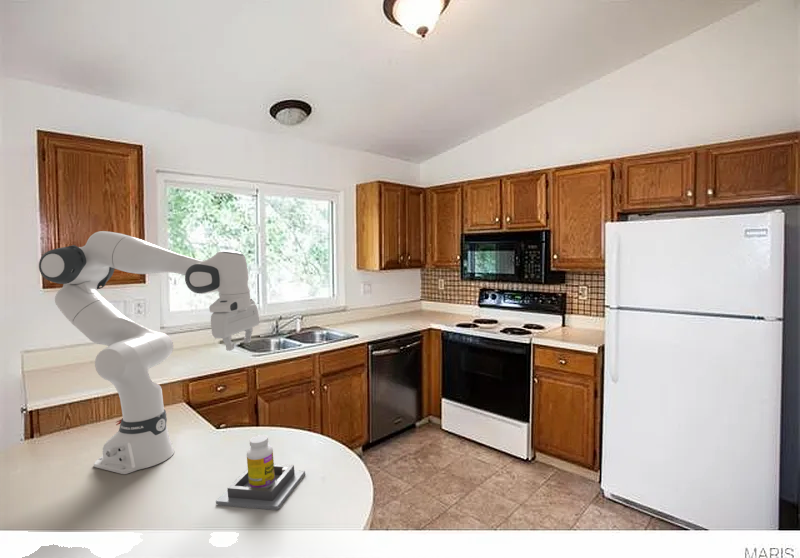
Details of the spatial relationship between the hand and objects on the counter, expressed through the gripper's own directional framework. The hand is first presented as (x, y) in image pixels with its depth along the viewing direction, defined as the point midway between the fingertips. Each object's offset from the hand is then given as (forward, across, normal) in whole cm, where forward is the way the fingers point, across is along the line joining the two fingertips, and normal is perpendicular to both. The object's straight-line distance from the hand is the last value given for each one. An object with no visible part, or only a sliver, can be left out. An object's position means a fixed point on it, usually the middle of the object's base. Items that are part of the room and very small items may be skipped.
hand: (239, 346), depth 131 cm
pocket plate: (+34, +19, +16) cm, 42 cm away
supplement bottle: (+33, +19, +16) cm, 41 cm away
